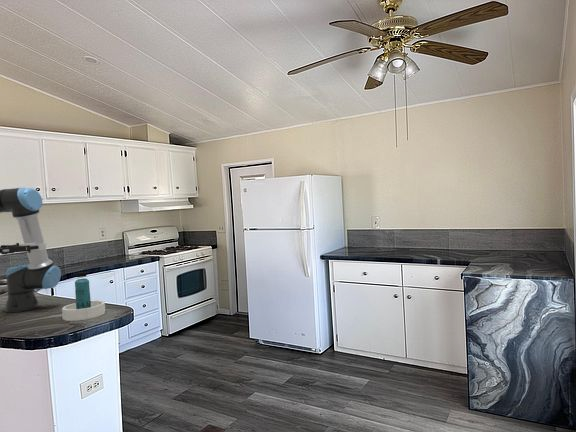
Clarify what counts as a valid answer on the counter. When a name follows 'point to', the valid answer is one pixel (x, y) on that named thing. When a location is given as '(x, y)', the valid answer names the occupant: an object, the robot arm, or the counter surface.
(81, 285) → the beverage bottle
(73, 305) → the bowl
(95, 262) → the counter surface
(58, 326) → the counter surface
